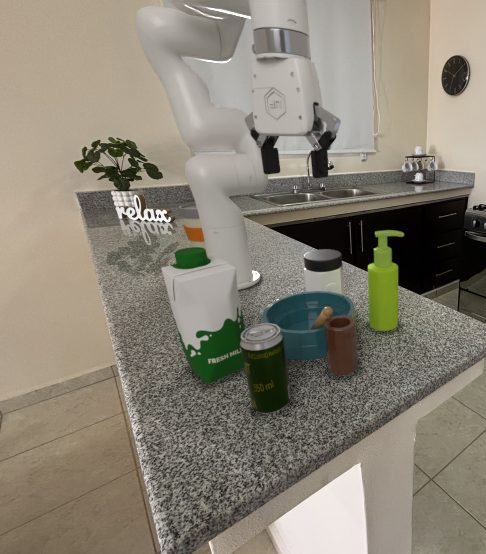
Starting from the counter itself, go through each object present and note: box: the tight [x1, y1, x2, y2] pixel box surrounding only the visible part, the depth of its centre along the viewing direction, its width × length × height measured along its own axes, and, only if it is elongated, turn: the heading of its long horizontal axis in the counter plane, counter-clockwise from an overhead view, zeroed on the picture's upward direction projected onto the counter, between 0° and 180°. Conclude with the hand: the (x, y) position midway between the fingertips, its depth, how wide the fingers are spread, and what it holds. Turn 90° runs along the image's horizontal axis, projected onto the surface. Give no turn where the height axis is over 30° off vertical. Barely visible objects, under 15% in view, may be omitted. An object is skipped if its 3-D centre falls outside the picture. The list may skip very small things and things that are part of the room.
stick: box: [310, 307, 333, 330], centre depth 61 cm, size 2×2×15 cm
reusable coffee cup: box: [178, 202, 208, 257], centre depth 111 cm, size 13×13×15 cm
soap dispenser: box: [367, 229, 405, 332], centre depth 68 cm, size 6×7×20 cm
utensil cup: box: [324, 315, 358, 377], centre depth 57 cm, size 5×5×9 cm
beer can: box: [240, 323, 292, 415], centre depth 49 cm, size 5×5×12 cm
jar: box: [303, 248, 346, 296], centre depth 79 cm, size 9×8×12 cm
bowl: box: [260, 291, 356, 361], centre depth 66 cm, size 17×17×6 cm
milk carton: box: [160, 246, 246, 385], centre depth 54 cm, size 9×9×20 cm
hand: (295, 175), depth 56 cm, fingers open, 9 cm apart
